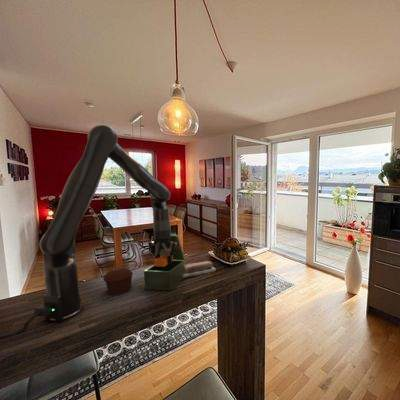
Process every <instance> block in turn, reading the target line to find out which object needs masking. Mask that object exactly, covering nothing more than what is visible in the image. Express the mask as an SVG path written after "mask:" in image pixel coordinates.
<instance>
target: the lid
mask: <svg viewBox="0 0 400 400" xmlns="http://www.w3.org/2000/svg"><path fill="white" fill-rule="evenodd" d="M152 236H153V237H154V234H153V235H152ZM171 240H172V242H177V248H176V253H175V254H173V260H184V261H185V260H186V258H185V255H184V251H183V248H182V244H181V241H180V237H179V235H178V234H176V233H171ZM170 247H171V250H172V246H171V245H170ZM167 249H168V248H167ZM164 254H165V255H167V253H166V252H165V250H163V249H161V251H160V256H162V255H164Z"/></svg>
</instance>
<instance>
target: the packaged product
mask: <svg viewBox="0 0 400 400" xmlns="http://www.w3.org/2000/svg"><path fill="white" fill-rule="evenodd" d="M216 271H217V268H216V267H214V266H213V263H212V261H211V260H210V261H209V260H206V261H200V262H199V261H198V262H194V263H187V264H186V263H185V274H184V275H183V279H185V278H190V277H195V276H201V275H205V274H208V273H213V272H216Z"/></svg>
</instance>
